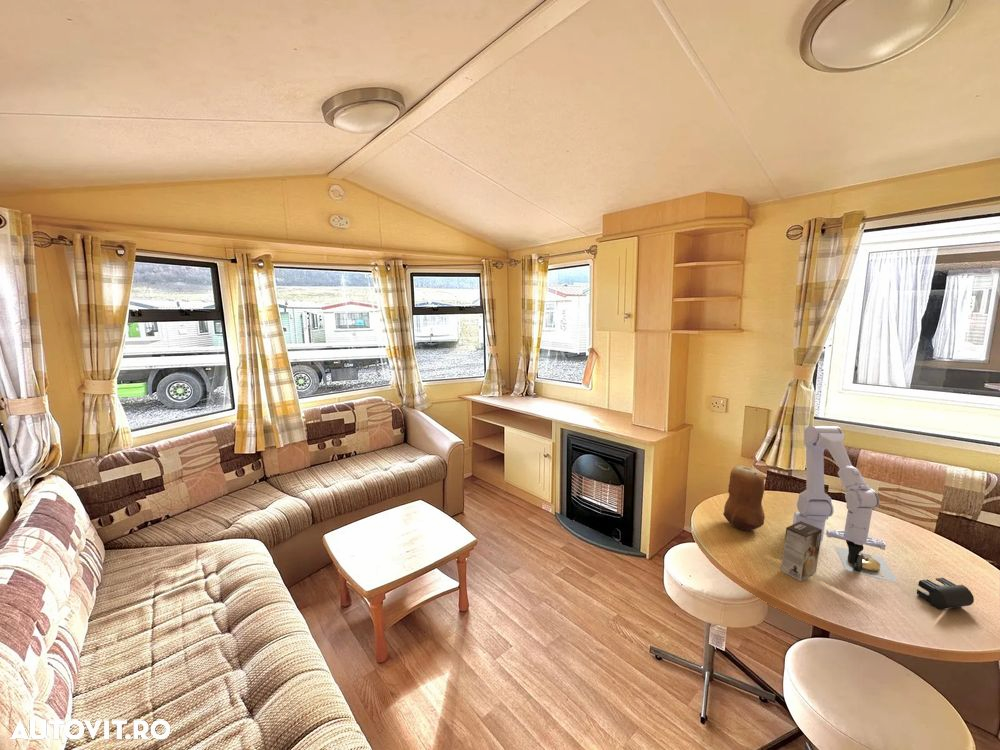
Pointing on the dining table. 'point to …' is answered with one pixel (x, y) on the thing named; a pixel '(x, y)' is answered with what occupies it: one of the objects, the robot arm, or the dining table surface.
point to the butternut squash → (745, 498)
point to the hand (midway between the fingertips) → (851, 561)
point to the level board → (881, 574)
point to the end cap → (945, 594)
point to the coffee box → (801, 550)
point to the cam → (865, 563)
